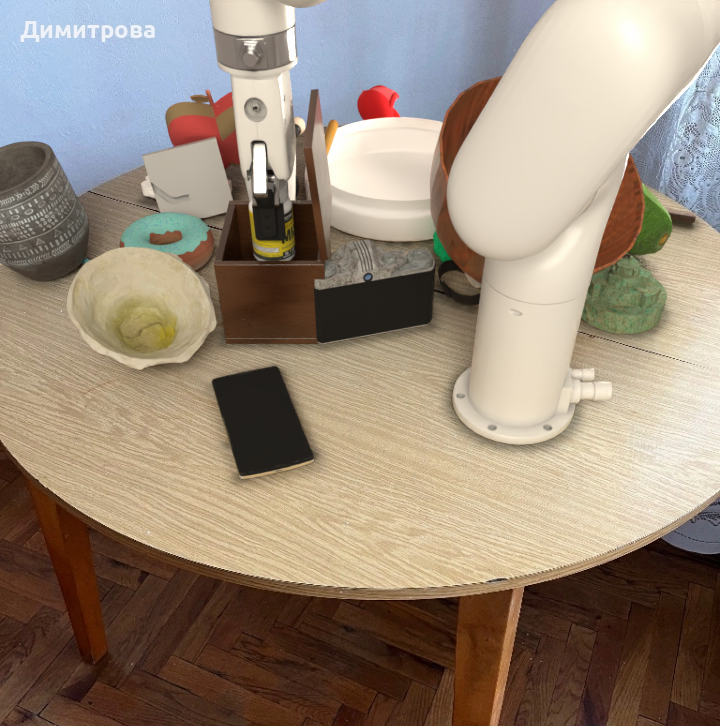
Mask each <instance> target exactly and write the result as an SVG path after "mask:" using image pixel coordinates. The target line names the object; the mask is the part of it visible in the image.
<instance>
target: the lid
mask: <svg viewBox="0 0 720 726" xmlns="http://www.w3.org/2000/svg"><path fill="white" fill-rule="evenodd" d="M303 155H304V161H305V167H306V168H307V175H308V182H309V188H310V195H311V202H312V208H313V215H314V222H315V228H316V235H317V242H318V248H319V255H320V260H321V261H323V260H328V251H329V236H330V237H331V226H330V221H331V206H332V191H331V183H330V175H329V167H328V159H327V152H326V144H325V128H324V121H323V114H322V106H321V98H320V90H319V88H314V89H313V88H312V89H310V93H309V102H308V110H307V118H306V124H305V133H304V142H303Z"/></svg>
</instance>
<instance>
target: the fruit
mask: <svg viewBox="0 0 720 726" xmlns="http://www.w3.org/2000/svg"><path fill="white" fill-rule="evenodd" d="M642 186H643V194H644V202H645V210H644V217H643V223H642V229H641V231H640V233H639V235H638V237H637V239H636V241H635V243H634V245H633V247H632V249H631V250H629V251H628V252H627V253H626V254H627V255H633V256H644V255H645V256H646V255H651V254H656V253H658V252H660V251H661V250H662V249H663V248H664V246H665V245H666V243H667V242H668V240H669V238H670V237H671V235H672V232H673V220H671V217H670V215H669V213H668V211H667V210H666V209H665V208H666V207H665V206H664V204H663V203H662V202H661V201H660V200H659V199H658V197H656V196H655V195H654V194H653V193H652V192H651V190H650V189H649V188H648V187H647V186H646V185H645V184H644V183H643V182H642Z"/></svg>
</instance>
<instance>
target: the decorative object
mask: <svg viewBox="0 0 720 726" xmlns="http://www.w3.org/2000/svg"><path fill="white" fill-rule="evenodd" d="M204 92H205V95H204V94H193V95H190V96H189V99H190V100H192V101H180V102H176V103H174V104H172V105H170V106H169V107H168V108H167V110H166V111H165V115H164V120H165V124H166V125H165V126H166V129H167V134H168V137H169V140H170V143H171V144H172V147H176V146H180V145H184V144H188V143H192V142H196V141H199V140H203V139H207V138H211V137H215V138H216V140H217V144H218V148H219V151H220V155H221V159H222V162H223V166H224V169H225V170H227V169H228V168H229V167H231V166H235V167H241V166H240V159H239V152H238V144H237V136H236V127H235V118H234V108H233V100H232V91H230V92H228V93H226V94H224V95H223V96H221V97H220V98H219V99H218V100H217V101H214V99H213V97H212V93H211V91H210V89H205V91H204Z"/></svg>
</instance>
